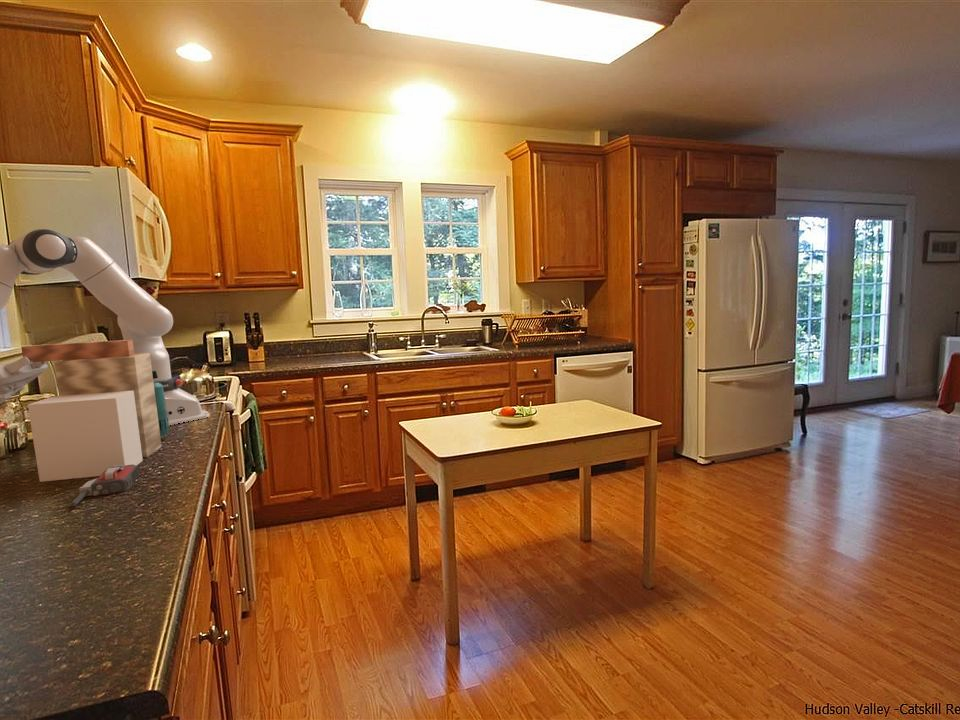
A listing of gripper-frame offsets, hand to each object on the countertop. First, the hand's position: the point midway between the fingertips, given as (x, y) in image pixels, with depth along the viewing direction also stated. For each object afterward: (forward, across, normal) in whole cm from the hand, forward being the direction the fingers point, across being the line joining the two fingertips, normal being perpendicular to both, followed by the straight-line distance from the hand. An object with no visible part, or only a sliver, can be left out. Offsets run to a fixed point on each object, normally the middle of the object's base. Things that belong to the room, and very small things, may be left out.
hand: (40, 356), depth 142 cm
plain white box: (-1, -13, +31) cm, 34 cm away
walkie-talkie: (+7, -30, +36) cm, 48 cm away
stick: (+7, 0, +6) cm, 9 cm away
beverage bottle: (+3, +14, +34) cm, 36 cm away
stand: (-1, 0, +31) cm, 31 cm away
